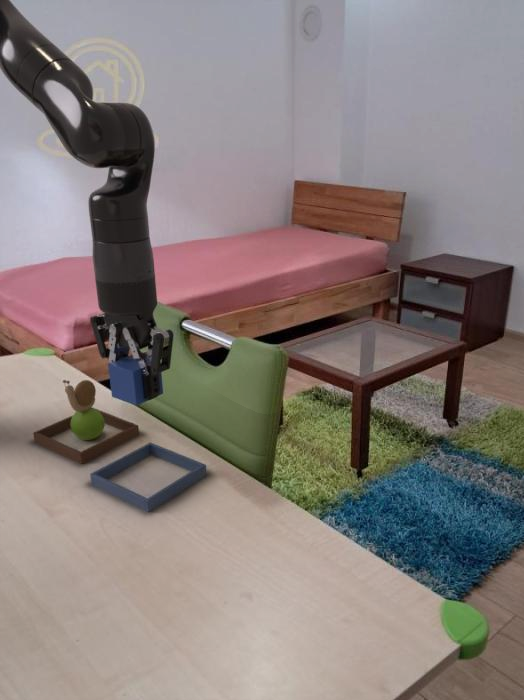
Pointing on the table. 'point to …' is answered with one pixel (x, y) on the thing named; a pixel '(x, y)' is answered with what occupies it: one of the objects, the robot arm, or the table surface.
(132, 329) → the robot arm
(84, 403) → the snail figurine
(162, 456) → the blue tray
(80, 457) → the brown tray
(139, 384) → the blue block
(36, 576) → the table surface
